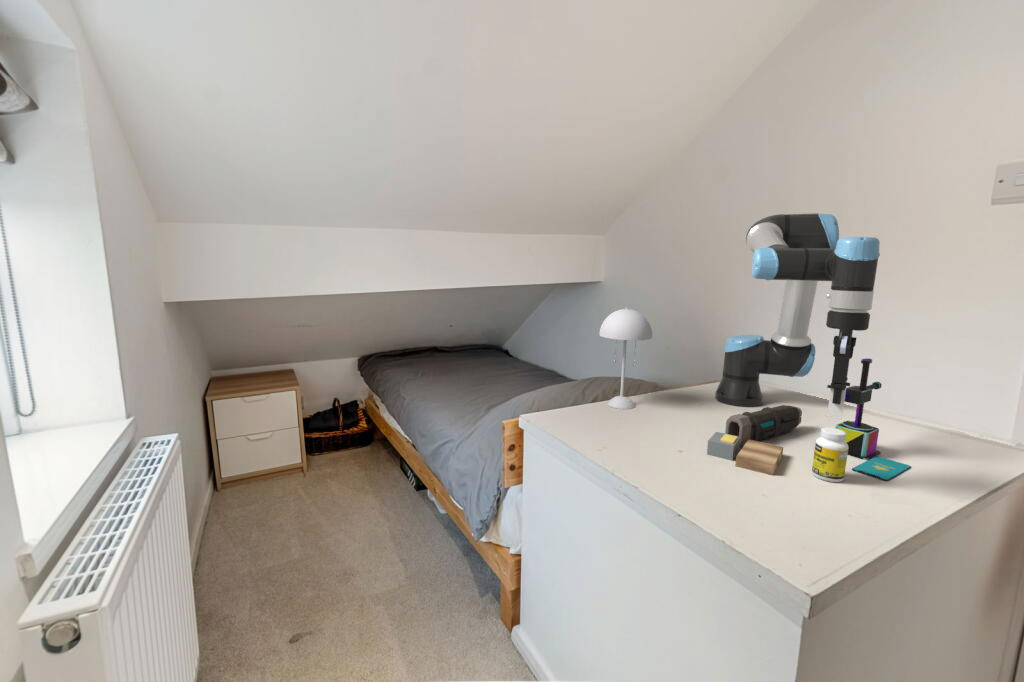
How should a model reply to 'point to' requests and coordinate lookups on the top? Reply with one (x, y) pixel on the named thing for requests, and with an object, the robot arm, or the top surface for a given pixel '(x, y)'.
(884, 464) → the smartphone
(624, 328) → the lamp
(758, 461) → the board
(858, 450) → the colourful clamp stand
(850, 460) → the top surface
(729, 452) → the block
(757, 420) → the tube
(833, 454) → the pill bottle
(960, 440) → the top surface
